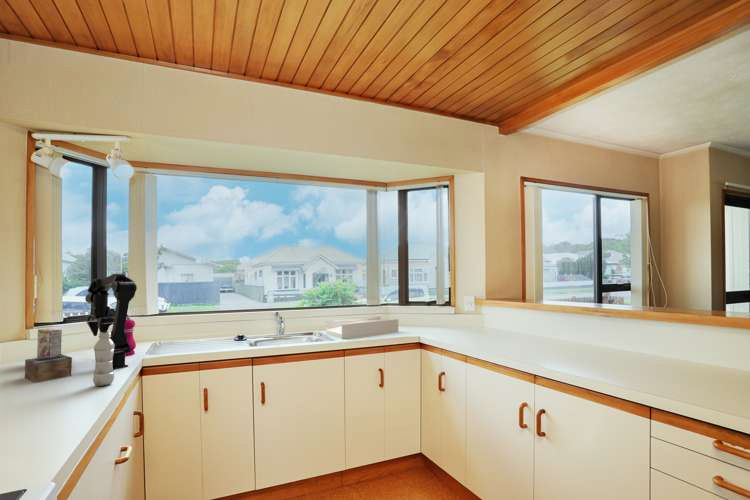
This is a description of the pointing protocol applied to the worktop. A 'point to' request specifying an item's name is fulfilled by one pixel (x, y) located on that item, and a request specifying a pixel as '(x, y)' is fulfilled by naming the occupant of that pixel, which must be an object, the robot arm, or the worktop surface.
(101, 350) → the plastic bottle
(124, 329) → the robot arm
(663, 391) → the worktop surface
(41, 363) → the box
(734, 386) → the worktop surface
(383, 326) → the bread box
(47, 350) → the candy bar box
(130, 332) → the pepper mill
